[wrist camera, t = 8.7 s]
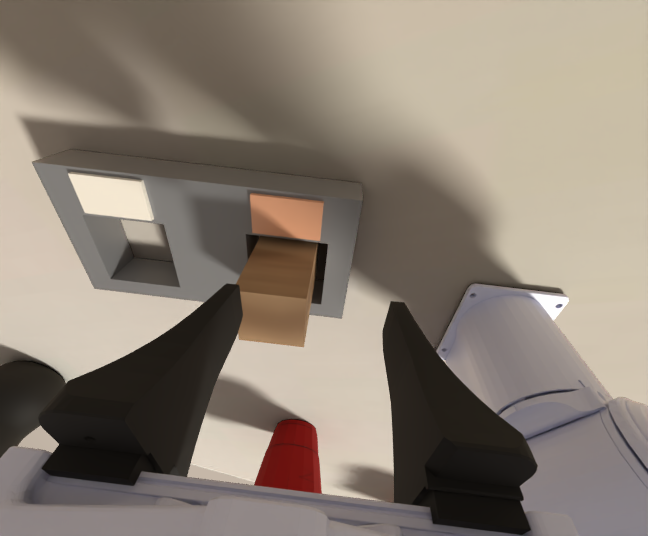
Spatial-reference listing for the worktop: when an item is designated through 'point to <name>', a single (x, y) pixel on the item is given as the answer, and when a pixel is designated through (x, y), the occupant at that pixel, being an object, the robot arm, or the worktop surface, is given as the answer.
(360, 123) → the worktop surface
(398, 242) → the worktop surface
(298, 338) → the plug
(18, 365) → the cola bottle
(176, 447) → the robot arm
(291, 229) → the socket block
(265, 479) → the plastic cup
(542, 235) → the worktop surface
